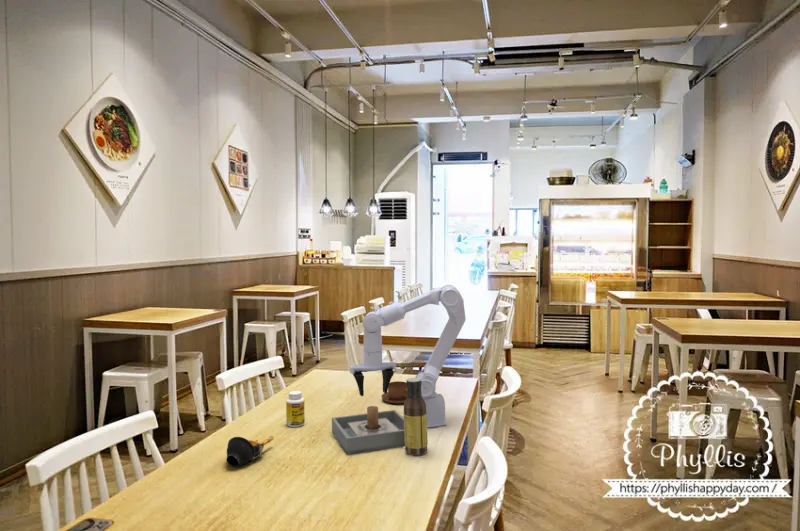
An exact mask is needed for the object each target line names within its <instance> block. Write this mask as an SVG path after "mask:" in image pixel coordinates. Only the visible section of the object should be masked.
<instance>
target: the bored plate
mask: <svg viewBox="0 0 800 531" xmlns="http://www.w3.org/2000/svg"><path fill="white" fill-rule="evenodd" d="M397 430H398V429H397V428H396V427H395V426H394V425H393V424H392V423H391V422H390V421H389V420H388V419H387V418H380V419H378V429H374V430H371V429H367V420H364V421H356V422H348V423H347V431H348V432H349V434H350V435H351V436H352V437H354V436H361V435H368V434H375V433H383V432H390V431H397Z"/></svg>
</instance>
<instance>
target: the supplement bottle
mask: <svg viewBox="0 0 800 531" xmlns="http://www.w3.org/2000/svg"><path fill="white" fill-rule="evenodd" d="M302 395H303V393H302V391H300V390H293V391H289V392H288V398H287V399H286V400H285V401H286V402H285V403H286V404H285V405H286V407H285V408H286V409H285V410H286V411H285V412H286V418H285V419H286V426H288V427H290V428H299V427H301V426H303V425H304V424H305V420H306V419H305V398H304V396H302Z"/></svg>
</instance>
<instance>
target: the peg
mask: <svg viewBox="0 0 800 531" xmlns="http://www.w3.org/2000/svg"><path fill="white" fill-rule="evenodd" d="M378 412H379V407H378V406H376V405H369V406H367V407H366V414H367V429H371V430H374V429H378Z"/></svg>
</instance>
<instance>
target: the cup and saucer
mask: <svg viewBox="0 0 800 531" xmlns="http://www.w3.org/2000/svg"><path fill="white" fill-rule="evenodd" d="M407 393H408V391H407V384H406V381H398V380H397V381H390V383H389V386H388V390H387V393H386V394H385V393H384V392H383V393H382V395H381V399H382V400H383V401H385V402H386V403H388V404H389V403H390V404H397V405H398V404H404V403H405V401H406V399H407V396H408V395H407Z"/></svg>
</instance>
